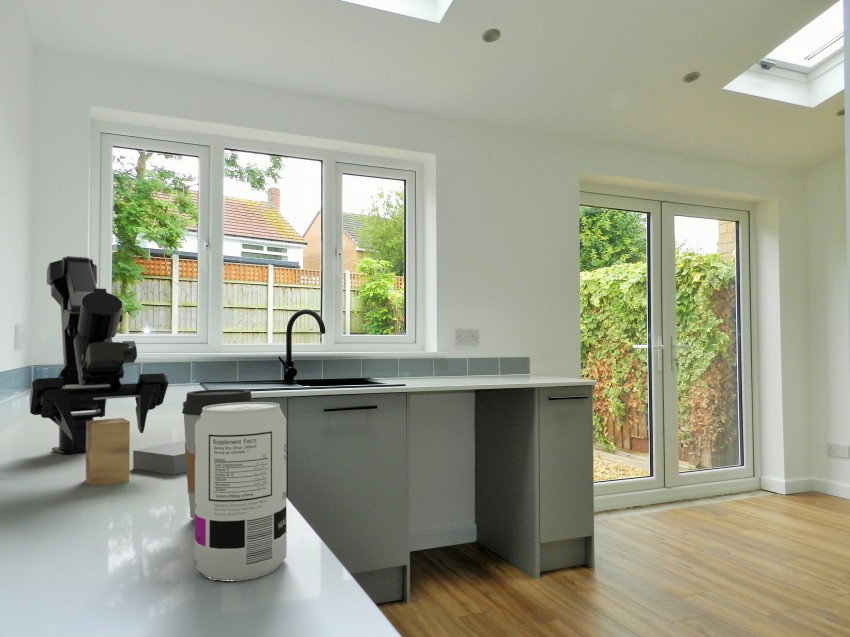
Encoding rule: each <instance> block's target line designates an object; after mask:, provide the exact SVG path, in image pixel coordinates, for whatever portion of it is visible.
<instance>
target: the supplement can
mask: <svg viewBox="0 0 850 637" xmlns="http://www.w3.org/2000/svg"><path fill="white" fill-rule="evenodd" d="M287 544H288V543H287V417H286V416H285V415H284V413H283V411H282V409H281V407H280V403H277V402H268V401H265V402H264V401H254V402H238V403H224V404H216V405H209V406H205V407H203V408H202V413H201V415H200V417H199V419H198V421H197V422H196V424H195V523H194V567H195V568H196V571H198V572H199V573H203V574H204V575H203V574H202V575H203V576H207V577H210V578H211V579H216V580H225V581H226V580H229V581H230V580H234V581H236V582H242V581H243V580H244V581H248V580H249V579H250V580H255V579H257V578H261V577H264V576H267V575H268V574H270V573H272V572H274V571H275V570H276V569H278V568H279V566H280V565H281V563H283V561H284V560H285V559H286V558H287V551H288V550H287V548H288V546H287ZM211 579H210V580H211ZM241 580H242V581H241ZM244 581H243V582H244Z"/></svg>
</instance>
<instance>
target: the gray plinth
mask: <svg viewBox="0 0 850 637" xmlns="http://www.w3.org/2000/svg"><path fill="white" fill-rule="evenodd" d="M132 450H133V449H132ZM132 452H133V453H132V454H133V455H132V460H133V461H132V468H133V470H141V471H146V470H147V472H152V471H154V472H153V473H158V472H159V474H165V475H166V474H167V475H172V476H175V475H179V474H184V473H187V469H186V454H185V440H181V441H174V442H169V443H164V444H159V445H153V446H149V447H143V448H137V449H134V450H133V451H132Z"/></svg>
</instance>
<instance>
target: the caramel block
mask: <svg viewBox="0 0 850 637" xmlns="http://www.w3.org/2000/svg"><path fill="white" fill-rule="evenodd" d="M130 423H131V421H130V420H128V419H125V418H123V417H120V418H119V417H118V418H117V417H116V418H107V419H106V418H104V419H96V420H95V419H94V420H92V421H86V451H85V481H86V483H87V484H88V485H89V486H90V487H91V488H93V487H100V486H107V485H113V484H119V483H120V484H121V483H126V482H130V437H131V436H130V434H131V433H130V431H131V430H130V426H131V424H130Z"/></svg>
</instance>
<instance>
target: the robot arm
mask: <svg viewBox="0 0 850 637" xmlns="http://www.w3.org/2000/svg"><path fill="white" fill-rule="evenodd" d="M46 284H47V285H49V286H50V295H51V298H53V299H54V301H56V302H57V304H59V306H60V316H61V317H60V318H61V336H62V337H61V338H62V353H63V354H62V358H63V368H62V369H61V371H60V373H59V375H58V377H56V376H55V377H36V378H35V379H33V380H32V382H31V385H30V393H29V394H30V395H29V413H30V414H31V415H33V416H40V417H41V418H42V419H49V420H51V422H53V423H54V424H55V425H57V426H58V446H55V447H52V448H51V451H52V452H53V451H54V452H56V453H60V454H63V455H65V454H66V455H67V454H74V453H81V452H86V421H92V420H95V419H94V418H103V417H105V416H106V406H107V401H108V400H110V399H125V398H135V404H136V406H135V414H136V415H135V416H136V420H137V428H138V431H139V433H140V434H143V433H144V431H145V426H146V420H147V417H148V416H147V415H148V412H149V411H151V410H155V408H156V407H158V406H160V405H162V404H163V403H164V401H165V400H164V399H165V396H166V393H167V390H168V387H169V381H168V376H167V375H166V374H165V373H164V372H153V373H149V372H148V373H139V375H138V376H139V377H138V380H137V383H122V382H121V379H124V377H125V376H124V374H125V370H124V364H134V363H135V362H136V359H137V358H138V352H137V345H136V341H135V340H124V341H122V342H121V341H113V338H115V337H116V335H117V333H118V328H119V325H120V323H123V315H122V309H123V301H122V300H121V299H120V298H119V297H117V296H116V295H114V294H113V293H110V292H107V288H98V287H97V284H98V265H96V264H94V261H93V259H92V258H89V257H86V256H85V257H84V256H74V255H73V256H72V255H71V256H70V255H69V256H68V255H67V256H63V257H62V259H59V260H56V261H52V262H50V263H49V264H48V266H47V269H46ZM88 411H89V412H88ZM76 412H77V413H76Z"/></svg>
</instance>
